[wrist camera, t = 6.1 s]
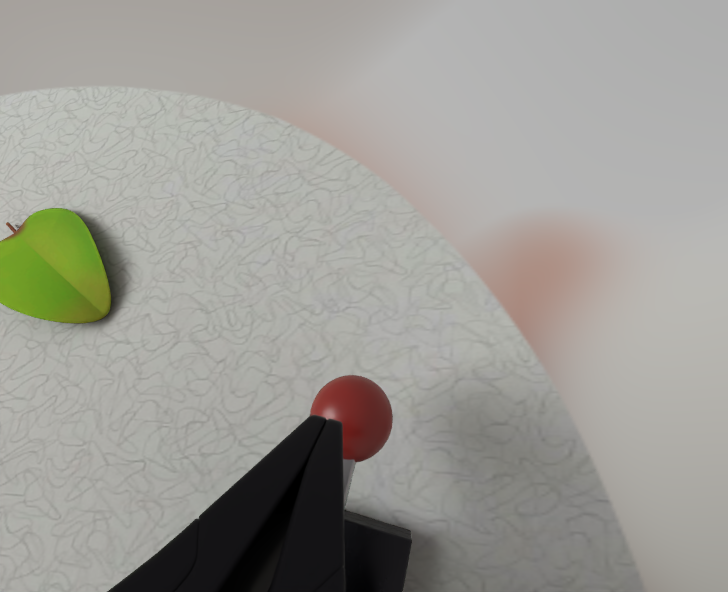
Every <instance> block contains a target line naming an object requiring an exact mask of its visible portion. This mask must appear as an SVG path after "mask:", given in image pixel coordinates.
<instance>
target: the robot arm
mask: <svg viewBox="0 0 728 592" xmlns="http://www.w3.org/2000/svg"><path fill="white" fill-rule="evenodd" d="M344 566H345V543H344V478H343V424H342V422H341V421H337V420H333V419H328V420H327V419H326V418H325V417H322V416H318V415H311V416H310V417H308V418H307V419H306V420H305V421H304V422H303V423H302V424H301V425H300V426H298V427H297V428H296V429H295V430H294V431H293V432H292V433H291V434H290V435H288V436H287V437H286V438H285V439H284V440H283V441H282V442H281V443H280V444H279V445H277V446H276V447H275V448H274V449H273V450H272V451H271V452H270V453H269V454H267V455H266V456H265V457H264V458H263V459H262V460H261V461H260V462H259V463H257V464H256V465H255V466H254V467H253V468H252V469H251V470H250V471H249V472H248V473H246V474H245V475H244V476H243V477H242V478H241V479H240V480H239V481H238V482H236V483H235V484H234V485H233V486H232V487H231V488H230V489H229V490H228V491H226V492H225V493H224V494H223V495H222V496H221V497H220V498H219V499H218V500H217V501H215V502H214V503H213V504H212V505H211V506H210V507H209V508H208V509H207V510H205V511H204V512H203V513H202V514H201V515H200V516H199V519H195V520H194V521H193V522H192V523H191V524H190V525H189V526H188V527H186V528H185V529H184V530H183V531H182V532H181V533H180V534H179V535H177V536H176V537H175V538H174V539H173V540H172V541H170V542H169V543H168V544H167V545H166V546H165V547H164V548H162V549H161V550H160V551H159V552H158V553H157V554H155V555H154V556H153V557H151V558H150V559H149V560H148V561H146V562H145V563H144V564H143V565H141V566H140V567H139V568H137V569H136V570H135V571H134V572H132V573H131V574H130V575H129V576H127V577H126V578H125V579H123V580H122V581H121V582H119V583H118V584H117V585H115V586H114V587H113V588H111V589H110V590H109V591H108V592H268V589H269V587H270V590H269V592H345V568H344ZM270 585H271V586H270Z"/></svg>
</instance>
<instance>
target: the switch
mask: <svg viewBox="0 0 728 592" xmlns="http://www.w3.org/2000/svg"><path fill="white" fill-rule="evenodd" d="M311 415H318V416H322V417H325V418H326V419H327V420H328V419H333V420H337V421H341V422H342V424H343V478H344V509H345V505H346V501H347V497H348V493H349V489H350V485H351V481H352V476H353V472H354V468H355V464H356V462H360V461H364V460H366V459H368V458H370V457H372V456H373V455H375V454H376V453H377V452H378V451H379V450H380V449H381V448H382V447H383V446H384V444H385V443H386V441H387V440H388V437H389V435H390V432H391V429H392V421H393V416H392V409H391V405H390V402H389V400H388V398H387V396H386V394H385V393H384V391H383V390H382V389H381V388H380V387H379V386H378V385H377V384H376V383H374V382H373V381H371V380H369V379H367V378H365V377H361V376H356V375H348V376H342V377H339V378H336V379H334V380H332V381H330V382H329V383H327V384H326V385H325V386H324V387H323V388H322V389H321V390H320V391H319V393H318V394H317V396H316V398H315V399H314V402H313V404H312V408H311V413H310V416H311Z"/></svg>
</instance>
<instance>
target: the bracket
mask: <svg viewBox="0 0 728 592" xmlns="http://www.w3.org/2000/svg"><path fill="white" fill-rule="evenodd" d="M344 543H345V566H344V568H345V592H403V586H404V581H405V576H406V570H407V565H408V559H409V554H410V549H411V543H412V539H411V531H410V530H407V529H404V528H400V527H397V526H394V525H391V524H387V523H384V522H381V521H378V520H374V519H371V518H368V517H365V516H361V515H358V514H355V513H352V512H348V511H345V510H344ZM270 586H271V585H270ZM269 590H270V587H269V589H268V592H269Z"/></svg>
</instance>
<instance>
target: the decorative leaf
mask: <svg viewBox="0 0 728 592" xmlns="http://www.w3.org/2000/svg"><path fill="white" fill-rule="evenodd" d="M6 225H7V226H8V227H9V228H10V229H11V230H12V231H13V232H14V234H12V235H11V236H9V237H7V238H5V239H4V240H2V241H0V303H1V304H3V305H5V306H7V307H9V308H11V309H13V310H15V311H18V312H20V313H23V314H26V315H29V316H32V317H36V318H40V319H44V320H49V321H55V322H63V323H88V322H94V321H97V320H100V319H102V318H103V317H105V316H106V315H107V314H108V312H109V311H110V307H111V294H110V288H109V283H108V279H107V275H106V272H105V269H104V266H103V263H102V260H101V257H100V255H99V252H98V249H97V247H96V245H95V242H94V240H93V238H92V236H91V234H90V232H89V230H88V228H87V226H86V225H85V223H84V222H83V221H82V219H81V218H80V217H79V216H78V215H76V214H75V213H74V212H72V211H70V210H67V209H62V208H51V209H45V210H41V211H38V212H36V213H34V214H32V215H31V216H29V217H28V218H27V219H26V220H25V222H24V223H23V224H22V225H21V227H20V228H19V229H18V230H17V231H16V230H15V229H14V228H13V227H12V226H11V225H10V224H9V223H8V222H7V223H6Z"/></svg>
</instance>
